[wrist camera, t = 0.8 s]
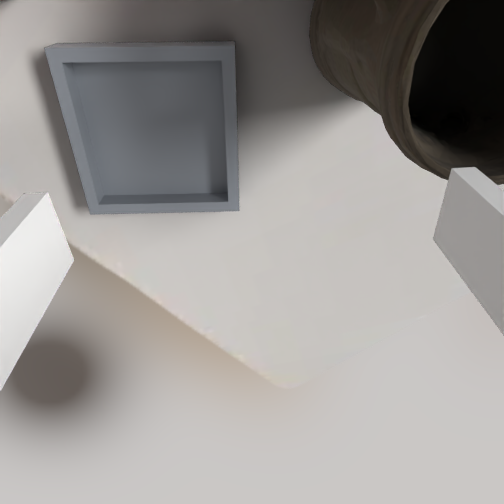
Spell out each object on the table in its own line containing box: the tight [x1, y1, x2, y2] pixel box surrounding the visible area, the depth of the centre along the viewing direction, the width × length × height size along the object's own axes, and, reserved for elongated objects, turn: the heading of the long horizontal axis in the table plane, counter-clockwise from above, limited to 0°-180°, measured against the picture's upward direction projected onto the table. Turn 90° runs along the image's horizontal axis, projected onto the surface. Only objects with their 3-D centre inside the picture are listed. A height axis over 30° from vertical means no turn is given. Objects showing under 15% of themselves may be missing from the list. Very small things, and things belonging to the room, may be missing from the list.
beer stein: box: [309, 0, 504, 185], centre depth 23 cm, size 15×11×20 cm
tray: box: [44, 41, 239, 214], centre depth 34 cm, size 14×14×2 cm
